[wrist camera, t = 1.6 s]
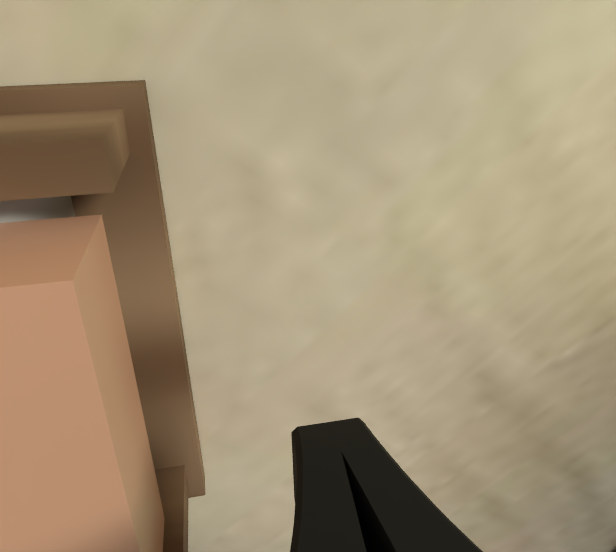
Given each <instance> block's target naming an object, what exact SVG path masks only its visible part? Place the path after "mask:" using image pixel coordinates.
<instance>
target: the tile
mask: <svg viewBox="0 0 616 552" xmlns="http://www.w3.org/2000/svg"><path fill="white" fill-rule="evenodd" d="M164 520H165V518H164V513H163V508H162V503H161V499H160V494H159V489H158V484H157V479H156V474H155V470H154V465H153V460H152V455H151V450H150V445H149V441H148V436H147V431H146V426H145V421H144V417H143V412H142V407H141V402H140V397H139V392H138V388H137V383H136V378H135V373H134V368H133V363H132V359H131V354H130V349H129V344H128V339H127V334H126V330H125V325H124V320H123V315H122V310H121V306H120V301H119V296H118V291H117V286H116V281H115V277H114V272H113V267H112V262H111V257H110V252H109V248H108V243H107V238H106V233H105V228H104V224H103V219H102V214H101V215H89V216H77V217H65V218H53V219H41V220H28V221H16V222H4V223H0V552H163V538H164Z"/></svg>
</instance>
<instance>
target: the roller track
mask: <svg viewBox="0 0 616 552" xmlns="http://www.w3.org/2000/svg"><path fill="white" fill-rule="evenodd" d="M101 214H102V219H103V224H104V228H105V233H106V238H107V243H108V248H109V252H110V257H111V262H112V267H113V272H114V277H115V281H116V286H117V291H118V296H119V301H120V306H121V310H122V315H123V320H124V325H125V330H126V334H127V339H128V344H129V349H130V354H131V359H132V363H133V368H134V373H135V378H136V383H137V388H138V392H139V397H140V402H141V407H142V412H143V417H144V421H145V426H146V431H147V436H148V441H149V445H150V450H151V455H152V460H153V465H154V470H155V474H156V479H157V484H158V489H159V494H160V499H161V503H162V508H163V513H164V518H165V520H164V538H163V552H188V498H190V497H196V496H202V495H205V476H204V469H203V462H202V456H201V449H200V442H199V436H198V429H197V422H196V416H195V409H194V402H193V396H192V389H191V382H190V376H189V369H188V362H187V356H186V349H185V343H184V336H183V329H182V323H181V316H180V309H179V303H178V296H177V289H176V283H175V276H174V269H173V263H172V256H171V249H170V243H169V236H168V230H167V223H166V216H165V210H164V203H163V196H162V190H161V183H160V176H159V170H158V163H157V156H156V150H155V143H154V136H153V130H152V123H151V117H150V110H149V103H148V97H147V90H146V83H145V80H140V81H118V82H95V83H72V84H50V85H27V86H5V87H0V223H4V222H16V221H28V220H41V219H53V218H65V217H77V216H89V215H101Z"/></svg>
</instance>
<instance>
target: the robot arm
mask: <svg viewBox="0 0 616 552" xmlns="http://www.w3.org/2000/svg"><path fill="white" fill-rule="evenodd" d="M292 453H293V475H294V497H295V516H294V527H293V536H292V543H291V550H290V552H483V551H482V550H480V549H479V548H478V547H477V546H476V545H475V544H474V543H473V542H472V541H471V540H470V539H469V538H468V537H467V536H466V535H465V534H464V533H462V532H461V531H460V530H459V529H458V528H457V527H456V526H455V525H454V524H453V523H452V522H451V521H450V520H449V519H448V518H447V517H446V516H445V515H444V514H443V513H442V512H441V511H440V510H439V509H438V508H437V507H436V506H435V505H434V504H433V502H432V501H431V500H430V499H429V498H428V497H427V496H426V495H425V494H424V493H423V492H422V491H421V490H420V489H419V487H418V486H417V485H416V484H415V483H414V482H413V481H412V480H411V479H410V478H409V477H408V475H407V474H406V473H405V472H404V471H403V470H402V469H401V467H400V466H399V465H398V464H397V463H396V462H395V460H394V459H393V458H392V457H391V456H390V455H389V453H388V452H387V451H386V450H385V449H384V447H383V446H382V445H381V444H380V442H379V441H378V440H377V439H376V437H375V436H374V435H373V434H372V432H371V431H370V430H369V428H368V427H367V426H366V424H365V423H364V422H363V421H362V420H361V419H359V418H353V419H346V420H340V421H333V422H327V423H320V424H313V425H307V426H300V427H297V428H296V429H295V430H294V431H293V432H292Z"/></svg>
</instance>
